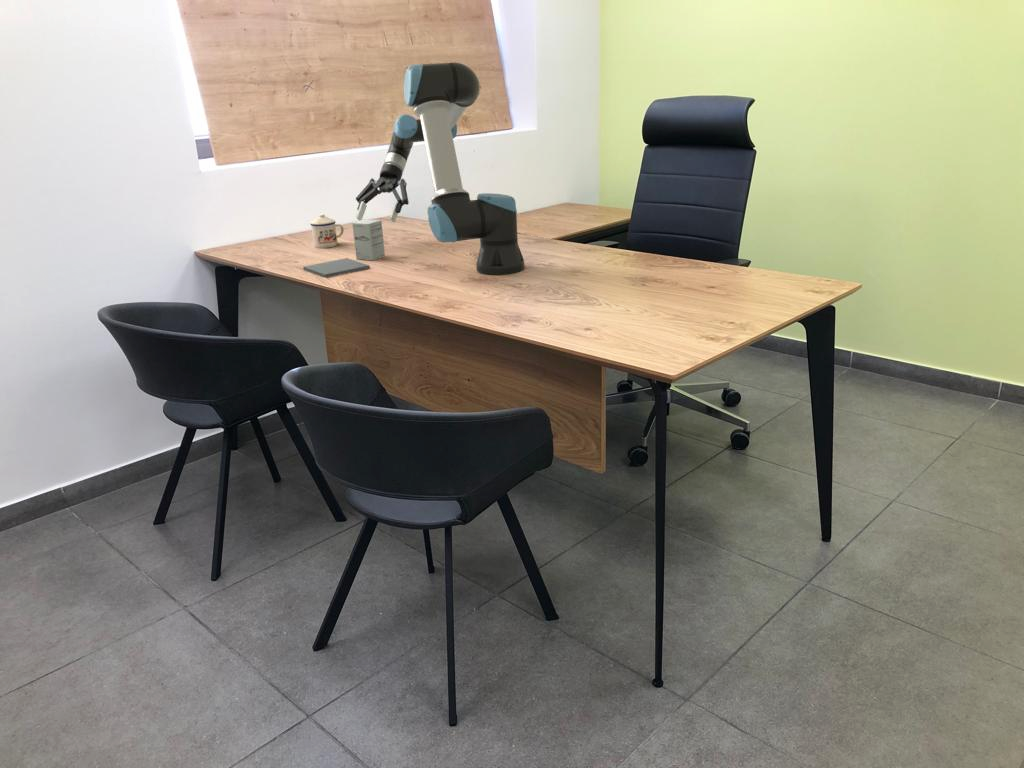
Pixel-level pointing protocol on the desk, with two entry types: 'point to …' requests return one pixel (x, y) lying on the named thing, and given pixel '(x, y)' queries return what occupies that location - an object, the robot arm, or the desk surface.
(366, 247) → the supplement box
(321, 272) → the slate mat
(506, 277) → the desk surface
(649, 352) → the desk surface
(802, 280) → the desk surface
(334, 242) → the teacup with lid
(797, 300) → the desk surface
